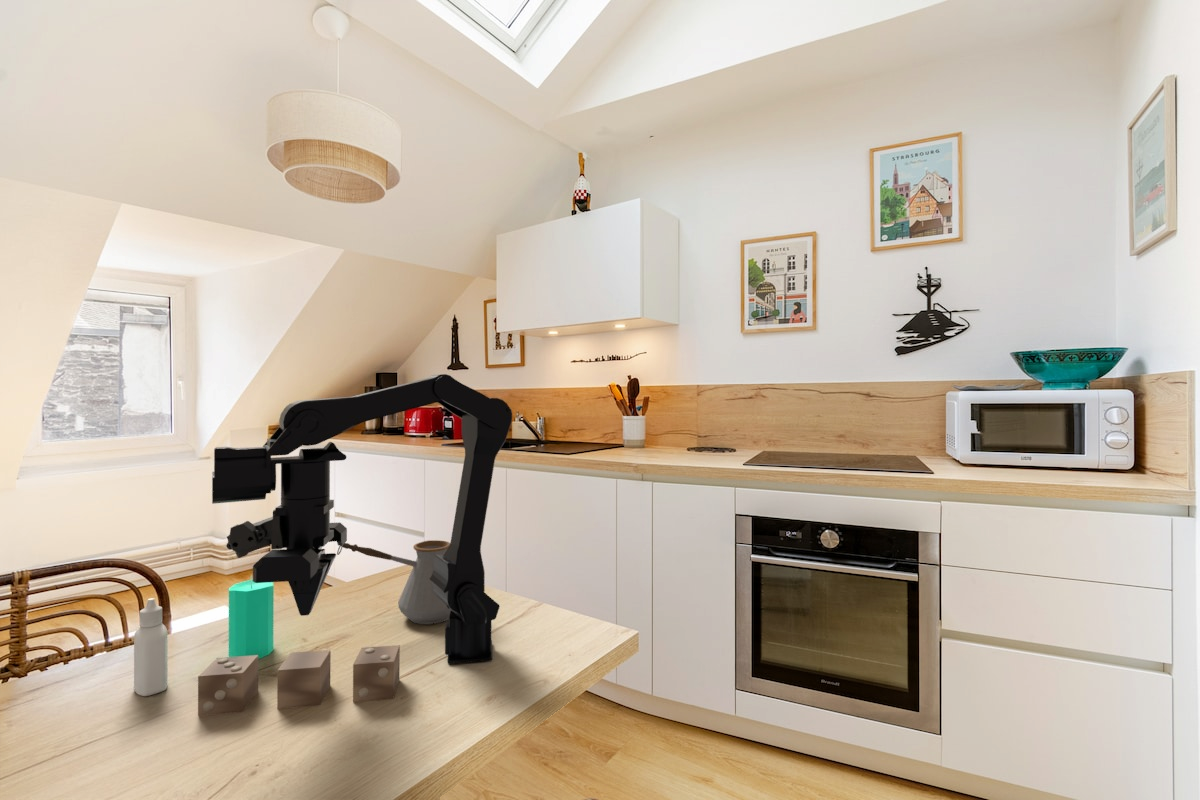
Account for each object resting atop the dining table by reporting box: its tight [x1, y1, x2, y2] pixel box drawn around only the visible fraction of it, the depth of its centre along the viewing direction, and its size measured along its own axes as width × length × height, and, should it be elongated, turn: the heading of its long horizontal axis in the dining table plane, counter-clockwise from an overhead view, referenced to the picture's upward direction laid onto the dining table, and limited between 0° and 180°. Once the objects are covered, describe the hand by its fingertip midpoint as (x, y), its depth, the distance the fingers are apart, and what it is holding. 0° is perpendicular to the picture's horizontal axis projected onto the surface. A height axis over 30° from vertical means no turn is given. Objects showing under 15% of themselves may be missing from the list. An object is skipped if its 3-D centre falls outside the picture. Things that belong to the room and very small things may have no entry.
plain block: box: [276, 649, 332, 710], centre depth 75 cm, size 5×5×5 cm
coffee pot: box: [336, 539, 452, 625], centre depth 101 cm, size 21×12×15 cm, turn 119°
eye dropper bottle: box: [133, 597, 169, 697], centre depth 77 cm, size 4×6×12 cm
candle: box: [228, 574, 275, 660], centre depth 88 cm, size 6×6×12 cm
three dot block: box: [197, 655, 259, 717], centre depth 74 cm, size 5×5×5 cm
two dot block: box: [352, 644, 401, 703], centre depth 77 cm, size 5×5×5 cm
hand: (305, 614), depth 75 cm, fingers closed
